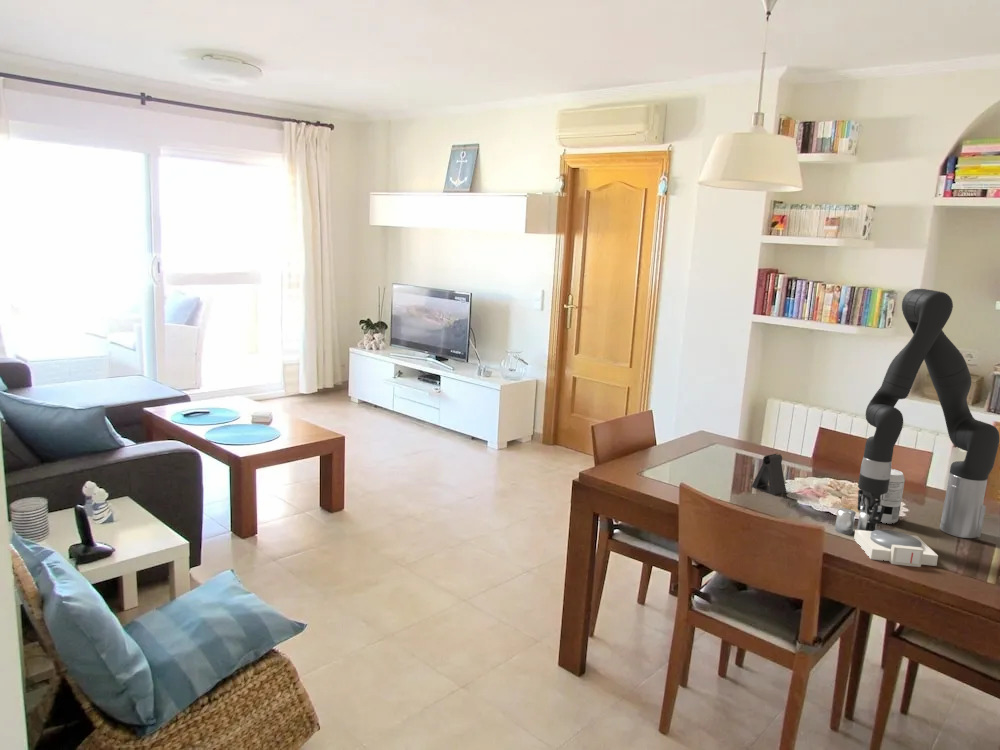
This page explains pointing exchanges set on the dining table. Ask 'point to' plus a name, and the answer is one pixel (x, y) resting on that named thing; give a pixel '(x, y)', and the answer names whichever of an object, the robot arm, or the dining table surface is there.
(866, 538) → the scale
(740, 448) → the dining table surface
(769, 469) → the black triangular stand
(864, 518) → the silver metal block
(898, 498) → the supplement can
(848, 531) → the cylinder
